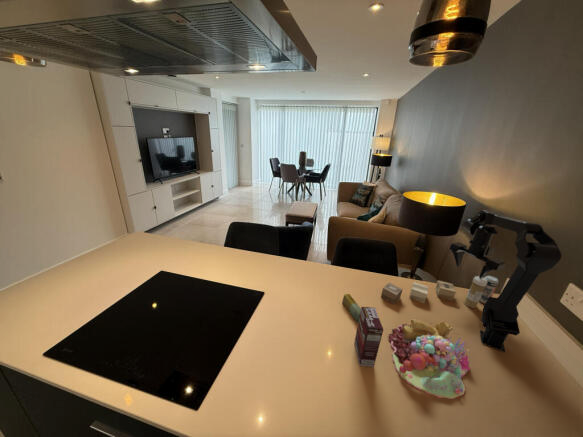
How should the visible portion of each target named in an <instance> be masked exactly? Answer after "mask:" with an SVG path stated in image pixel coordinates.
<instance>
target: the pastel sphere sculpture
mask: <svg viewBox="0 0 583 437" xmlns="http://www.w3.org/2000/svg"><path fill="white" fill-rule="evenodd" d="M453 328H454V327H453V326H452V325H450V324H449V323H447V322H445V321H441V322H440V323H436V324H435V326H434V327H433V326H431V325H430V324H428V323H425V322H423V321H422V320H421V321H420V320H419V319H415V318H414V319H413V318H412V319H411V318H410V324H408V323H403V324H402V325H401V324H400V325H397V328H392V329H391V330H392V332H393V333H390V334H388V340H389V342H390V347H391V348H392V349H393V352H392V353H391V356H392V362H393V364H394V369H395V371H396V372H397V373H398V375H399V377H400V378H402V379H403V380H405V382H406V383H407V384H409V385H412V387H414V388H416V389H418V390H420V391H423V392H425V393H426V394H429V395H432V396H435V397H438V398H439V399H442V398H444V399H449V400H453V399H456V398H458V397H461V396H463V395H464V394H465V390H466V388H465V383H463V380H462V379H463V376H465V375H466V374H467V372H468V371H470V369H471V368H470V366H469V364H470V361H469V356H467V354H468V353H469V352H470V349H465V343H466V341H465V340H464V341H462V343H460V341H461V339H462V338H461V337H460V338H458V339H457V341H453V342H451V341H452V339H451V338H452V337H451V336H450V338H449V336H448V335H449V334H450V332H451V331H453ZM454 342H455V343H454Z"/></svg>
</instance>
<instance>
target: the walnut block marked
mask: <svg viewBox="0 0 583 437" xmlns="http://www.w3.org/2000/svg"><path fill="white" fill-rule="evenodd" d="M402 293H403V288H401V287H399V286H397V285H396V284H394V283H391V282H388V283H387V284H386V285H385V286H383V287H382V291H381V294H380V298H382V299H383V300H386V301H388V302H389V303H391V304H393V305H396V303H397V302H398V301H400V299H401V298H402V297H401V296H402Z"/></svg>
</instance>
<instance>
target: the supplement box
mask: <svg viewBox="0 0 583 437" xmlns="http://www.w3.org/2000/svg"><path fill="white" fill-rule="evenodd" d="M360 308H361V311H360V317H359V322H358V323H357V327H356V333H355V337H354V343H353V344H354V347H355V351H356V355H357V361H358V365H359V366H362V367H375V365H376V361H377V360H376V359H377V356H378V352H379V347H380V345H381V341H382V337H383V333H384V327H383V325H382V322H381V320H380V318H379V317H380V316H379V315H378V312H377V311H378V310H377V309H376V307H371V306H361V307H360Z"/></svg>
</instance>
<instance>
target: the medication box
mask: <svg viewBox="0 0 583 437" xmlns="http://www.w3.org/2000/svg"><path fill="white" fill-rule="evenodd" d="M342 303H343V305H344V306H345V308H346V309H347V311H348V312H349V313H350V315H351V316H352V319H354V321H355V322H356V324H358V322H359V317H360V311H361V307H360V305H359V304H358V303H357V302H356V300H355V299H354V298H353V297H352V295H351V294H350V293H344V295H343V297H342Z"/></svg>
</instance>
